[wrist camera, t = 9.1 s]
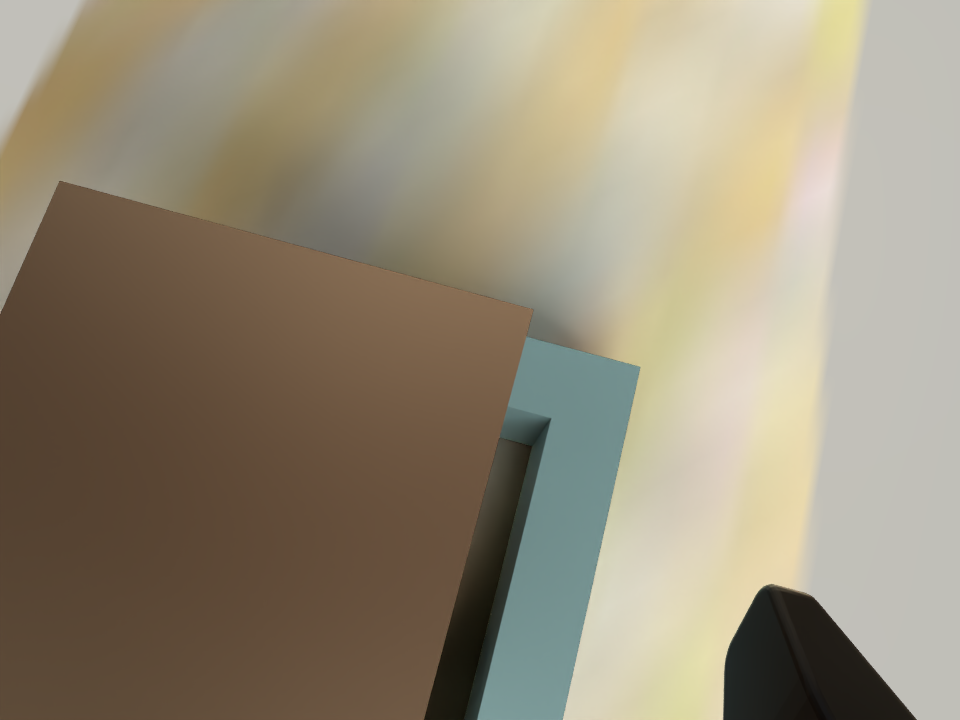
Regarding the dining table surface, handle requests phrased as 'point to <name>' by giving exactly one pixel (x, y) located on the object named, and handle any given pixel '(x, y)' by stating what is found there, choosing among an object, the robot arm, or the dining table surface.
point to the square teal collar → (552, 527)
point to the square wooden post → (234, 471)
